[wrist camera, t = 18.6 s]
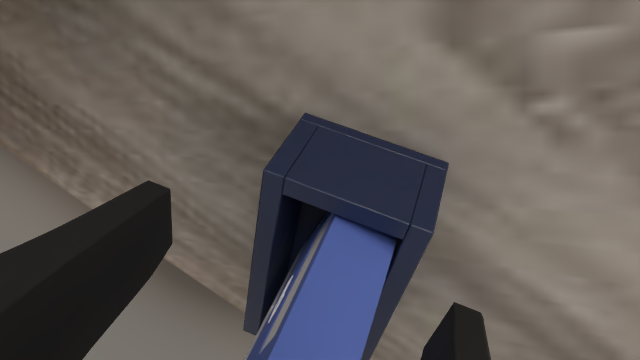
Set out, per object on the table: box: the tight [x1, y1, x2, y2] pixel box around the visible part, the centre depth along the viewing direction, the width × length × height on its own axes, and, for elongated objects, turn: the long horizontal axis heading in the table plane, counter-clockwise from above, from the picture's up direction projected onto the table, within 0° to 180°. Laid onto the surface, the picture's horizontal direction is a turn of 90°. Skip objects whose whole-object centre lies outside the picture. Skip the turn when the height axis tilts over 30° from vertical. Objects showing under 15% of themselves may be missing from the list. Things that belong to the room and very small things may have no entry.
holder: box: [243, 113, 449, 360], centre depth 23 cm, size 7×12×5 cm, turn 170°
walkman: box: [244, 211, 397, 360], centre depth 19 cm, size 8×3×12 cm, turn 155°
